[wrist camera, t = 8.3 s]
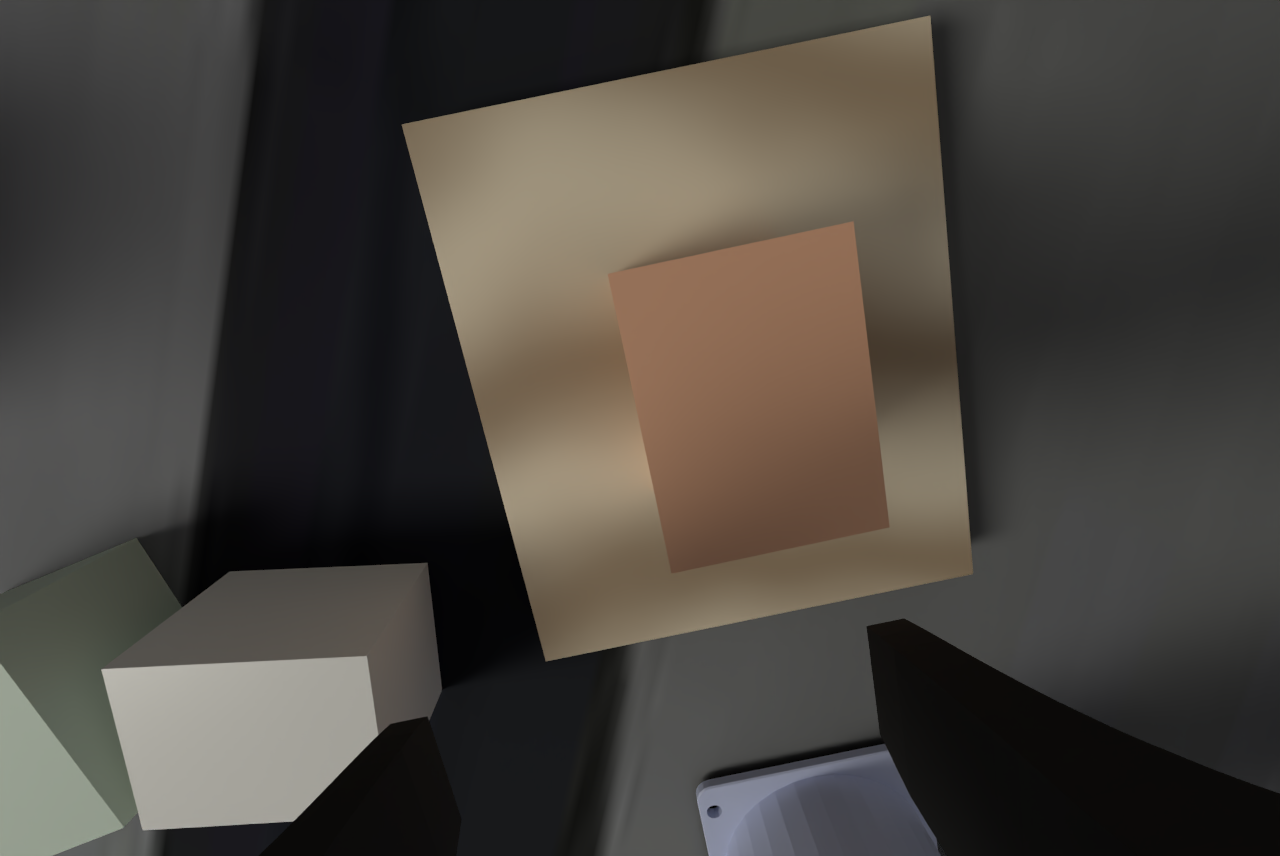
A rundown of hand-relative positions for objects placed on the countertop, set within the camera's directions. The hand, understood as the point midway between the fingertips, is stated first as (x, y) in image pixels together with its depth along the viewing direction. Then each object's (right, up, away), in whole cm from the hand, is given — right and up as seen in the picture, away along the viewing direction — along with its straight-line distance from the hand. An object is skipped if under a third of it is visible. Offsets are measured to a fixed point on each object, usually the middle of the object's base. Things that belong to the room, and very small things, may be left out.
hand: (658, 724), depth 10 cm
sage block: (-16, -2, +10) cm, 19 cm away
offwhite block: (-10, -2, +10) cm, 14 cm away
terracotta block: (+2, +6, +7) cm, 9 cm away
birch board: (+2, +7, +8) cm, 11 cm away
